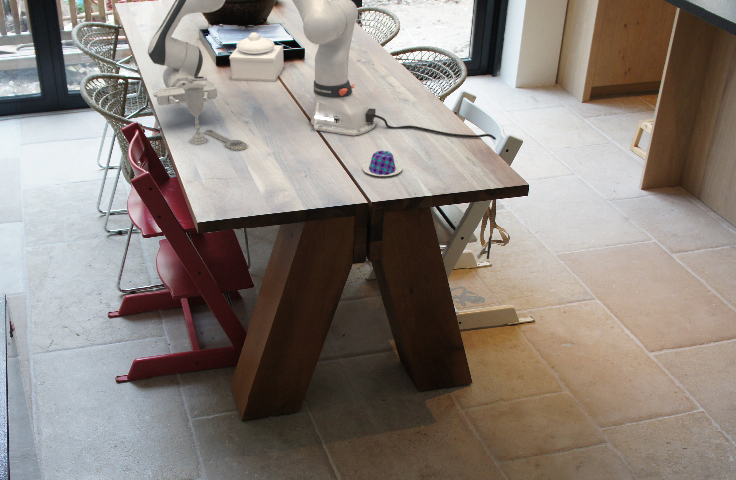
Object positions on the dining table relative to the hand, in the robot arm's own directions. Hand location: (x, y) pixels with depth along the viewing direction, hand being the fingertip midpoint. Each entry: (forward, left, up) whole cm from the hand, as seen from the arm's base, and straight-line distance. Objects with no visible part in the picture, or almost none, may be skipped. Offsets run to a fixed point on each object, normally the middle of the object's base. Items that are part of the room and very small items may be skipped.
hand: (191, 101), depth 277 cm
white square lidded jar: (+23, -62, -11) cm, 67 cm away
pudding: (-68, -9, -11) cm, 70 cm away
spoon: (-12, -1, -11) cm, 17 cm away
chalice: (-5, +4, -11) cm, 13 cm away
